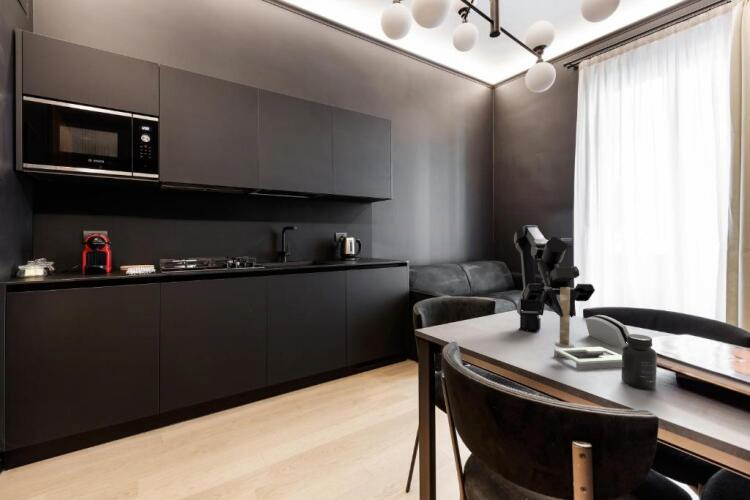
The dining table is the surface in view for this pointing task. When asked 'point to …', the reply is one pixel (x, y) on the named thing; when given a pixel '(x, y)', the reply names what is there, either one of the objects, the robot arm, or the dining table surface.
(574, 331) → the dining table surface
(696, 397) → the dining table surface
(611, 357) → the keyhole board
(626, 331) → the grey curved piece
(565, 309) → the peg
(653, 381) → the supplement bottle
